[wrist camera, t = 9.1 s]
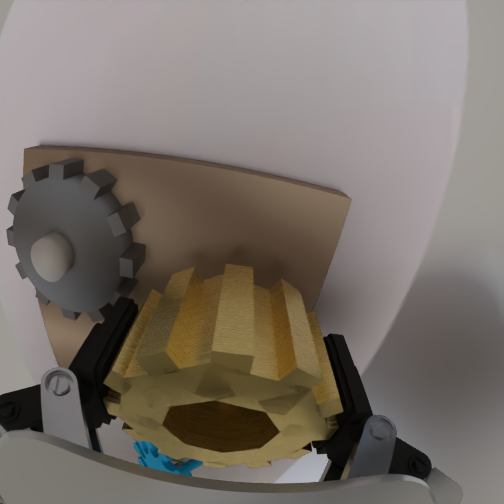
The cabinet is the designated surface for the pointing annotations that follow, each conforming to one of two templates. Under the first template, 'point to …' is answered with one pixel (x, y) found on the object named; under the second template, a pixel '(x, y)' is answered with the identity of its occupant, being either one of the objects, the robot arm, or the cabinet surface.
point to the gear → (162, 460)
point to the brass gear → (224, 372)
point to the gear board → (158, 231)
